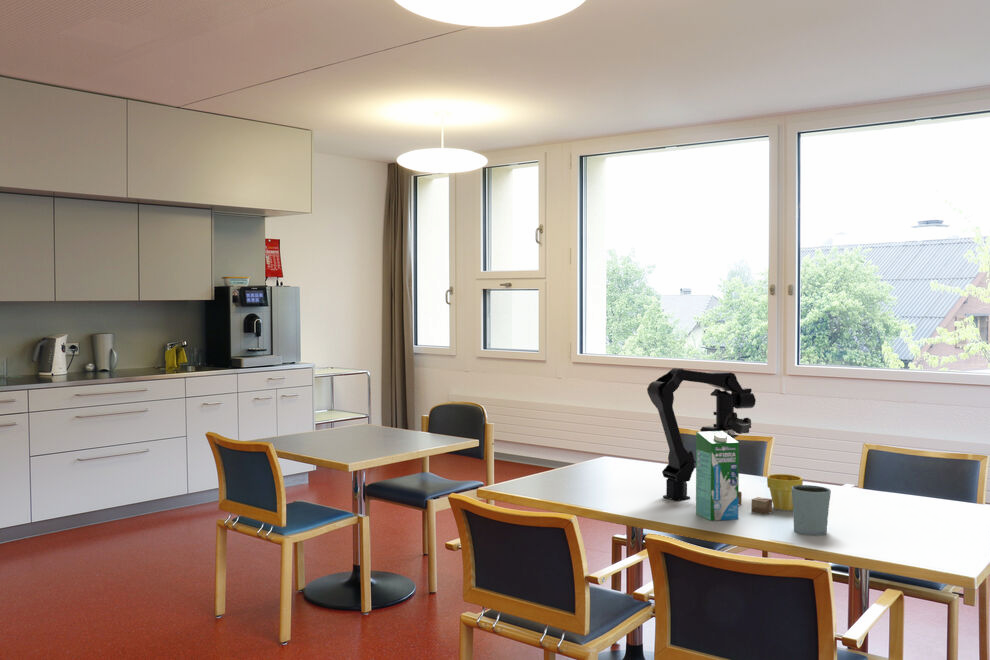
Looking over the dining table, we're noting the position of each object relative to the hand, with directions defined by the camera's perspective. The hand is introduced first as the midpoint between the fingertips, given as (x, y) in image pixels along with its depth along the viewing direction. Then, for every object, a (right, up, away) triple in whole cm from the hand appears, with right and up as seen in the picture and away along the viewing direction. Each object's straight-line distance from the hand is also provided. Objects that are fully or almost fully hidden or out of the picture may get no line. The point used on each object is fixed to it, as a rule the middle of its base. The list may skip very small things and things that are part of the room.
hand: (724, 455), depth 273 cm
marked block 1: (-2, -13, -13) cm, 19 cm away
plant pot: (+13, -14, -20) cm, 27 cm away
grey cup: (+10, -14, -48) cm, 51 cm away
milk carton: (-11, -14, -31) cm, 36 cm away
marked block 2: (+4, -14, -25) cm, 29 cm away
